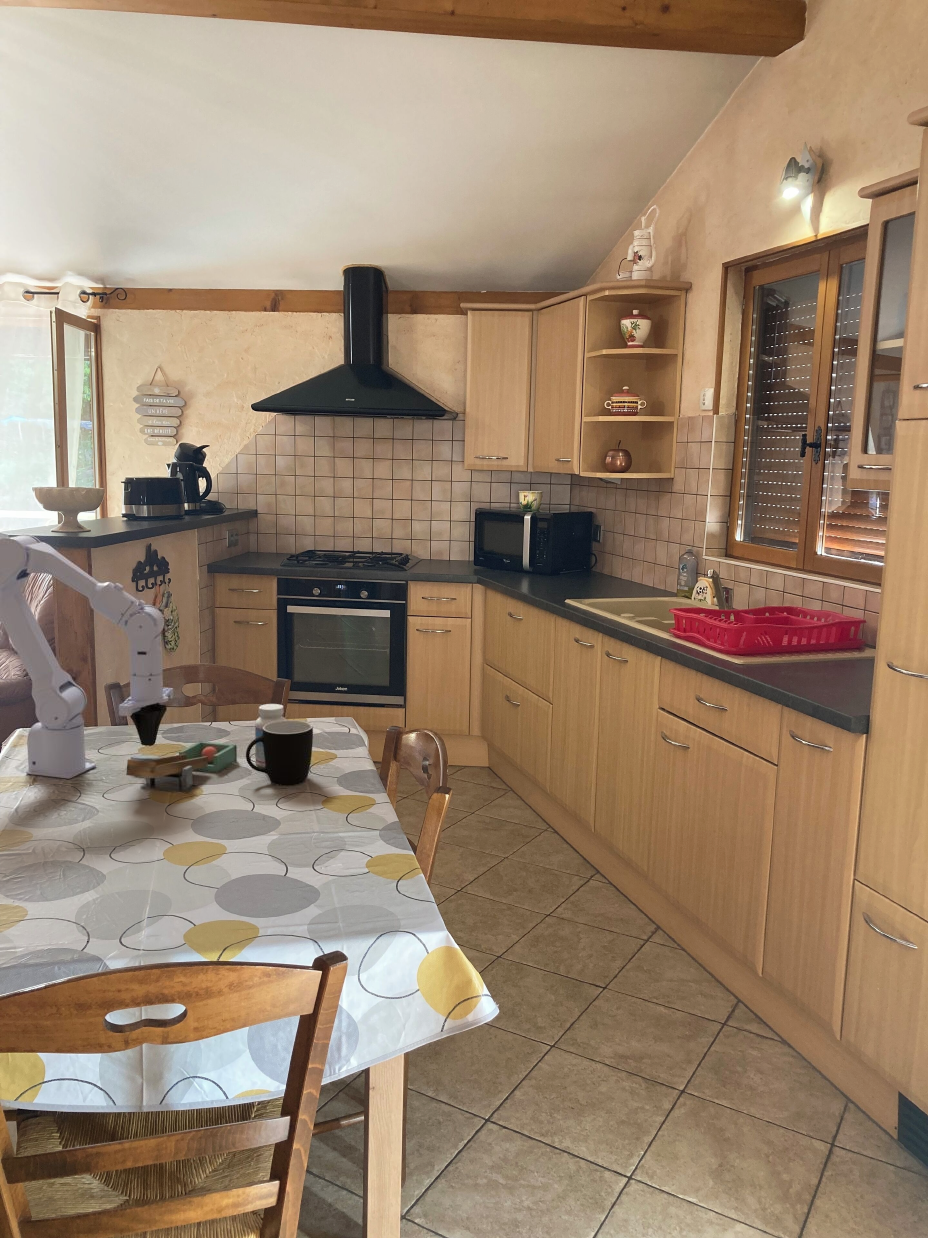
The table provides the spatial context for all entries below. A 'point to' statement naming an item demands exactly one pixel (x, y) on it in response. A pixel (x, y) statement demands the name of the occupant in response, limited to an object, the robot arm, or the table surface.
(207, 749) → the ball
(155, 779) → the stand
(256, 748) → the pill bottle
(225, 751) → the dish
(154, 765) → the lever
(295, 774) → the mug
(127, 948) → the table surface
